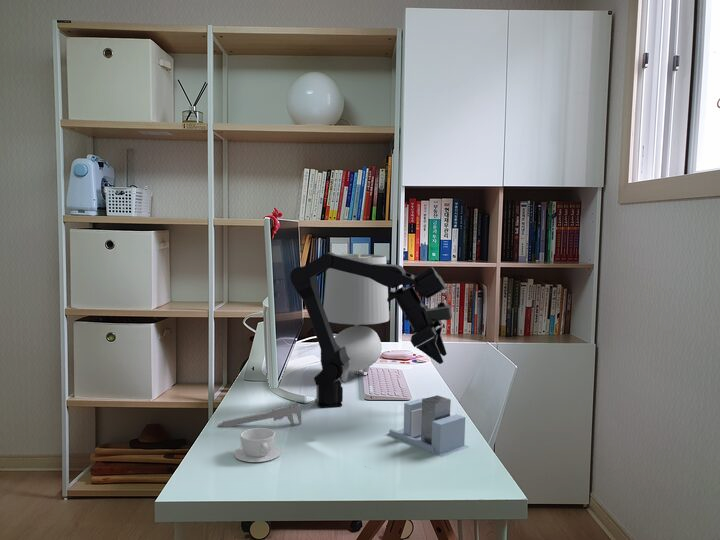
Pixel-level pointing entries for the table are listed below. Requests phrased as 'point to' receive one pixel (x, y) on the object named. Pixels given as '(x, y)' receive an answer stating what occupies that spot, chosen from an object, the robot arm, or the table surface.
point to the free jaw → (413, 418)
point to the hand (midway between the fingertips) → (443, 359)
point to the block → (433, 415)
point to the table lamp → (357, 312)
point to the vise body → (440, 436)
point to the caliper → (267, 416)
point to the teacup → (257, 445)
